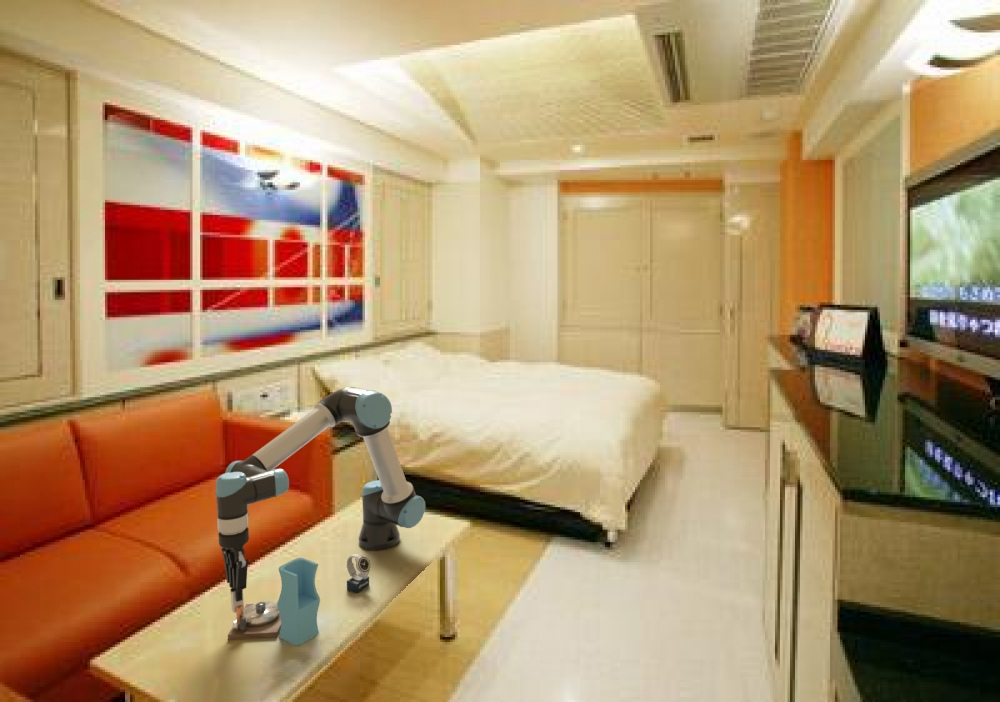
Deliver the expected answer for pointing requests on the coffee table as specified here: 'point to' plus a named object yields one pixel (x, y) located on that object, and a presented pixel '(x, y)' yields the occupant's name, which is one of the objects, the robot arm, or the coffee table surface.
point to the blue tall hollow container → (298, 601)
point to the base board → (255, 629)
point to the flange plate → (257, 614)
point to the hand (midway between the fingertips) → (237, 609)
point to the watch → (358, 580)
